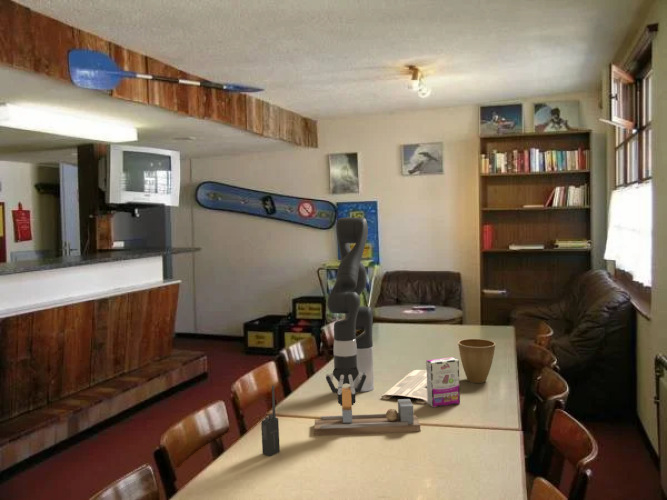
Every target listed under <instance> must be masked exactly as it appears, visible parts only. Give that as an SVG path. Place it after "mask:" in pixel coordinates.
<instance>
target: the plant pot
mask: <svg viewBox="0 0 667 500" xmlns="http://www.w3.org/2000/svg"><path fill="white" fill-rule="evenodd" d="M457 343H458V344H457V345H458V351H459V356H460V360H461V361H460V362H461V365H462V368H463V372H464V373H465V377H466V380H467V381H468V382H470V383H473V384H481V383H485V382H486V381H487V379H488V377H489V374H490V371H491V369H492V364H493V360H494V355H495V350H496V349H495V348H496V343H495V342H494V341H492V340H489V339H482V338H465V339H461V340H459V341H458V342H457Z"/></svg>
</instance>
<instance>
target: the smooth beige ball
mask: <svg viewBox="0 0 667 500" xmlns="http://www.w3.org/2000/svg"><path fill="white" fill-rule="evenodd" d="M385 414H386V418H387V419H388V420H389V421H395V420H397V418H398V410H397V409H395V408H389V409H387V411H386V412H385Z"/></svg>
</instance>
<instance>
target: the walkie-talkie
mask: <svg viewBox="0 0 667 500" xmlns="http://www.w3.org/2000/svg"><path fill="white" fill-rule="evenodd" d="M271 395H272V397H271V398H272V399H271V401H272V402H271V405H272V407H271V409H272V414H268V415H267V416H265V417H264V419H263V420H261V424H260V426H261V443H262V444H261V446H262V454H263V455H264V456H267V457H272V456H274V455H277V454H279V453H280V452H281V451H280V450H281V449H280V448H281V447H280V428H279V417H277V414H276V402H275V401H276V400H275V385H272V386H271Z"/></svg>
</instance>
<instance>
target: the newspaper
mask: <svg viewBox="0 0 667 500" xmlns="http://www.w3.org/2000/svg"><path fill="white" fill-rule="evenodd" d="M394 396H399V397H405V398H406V397H407V398H413V399H414V398H415V399H417V400H415V403H419V404H428V399H427V371H426V369H414V370H411V371H410V372H409V373H407V374H406V375H405V376H404V377H403V378H402V379H401V380H399V381H398V382H397V383H395V384H394V385H393V386H392V387H390V389H389V390H387V391H386V392H385V393H383V394H382V395H381V399H382V400H384V399H385V400H390V399H391V398H392V397H394Z"/></svg>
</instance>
